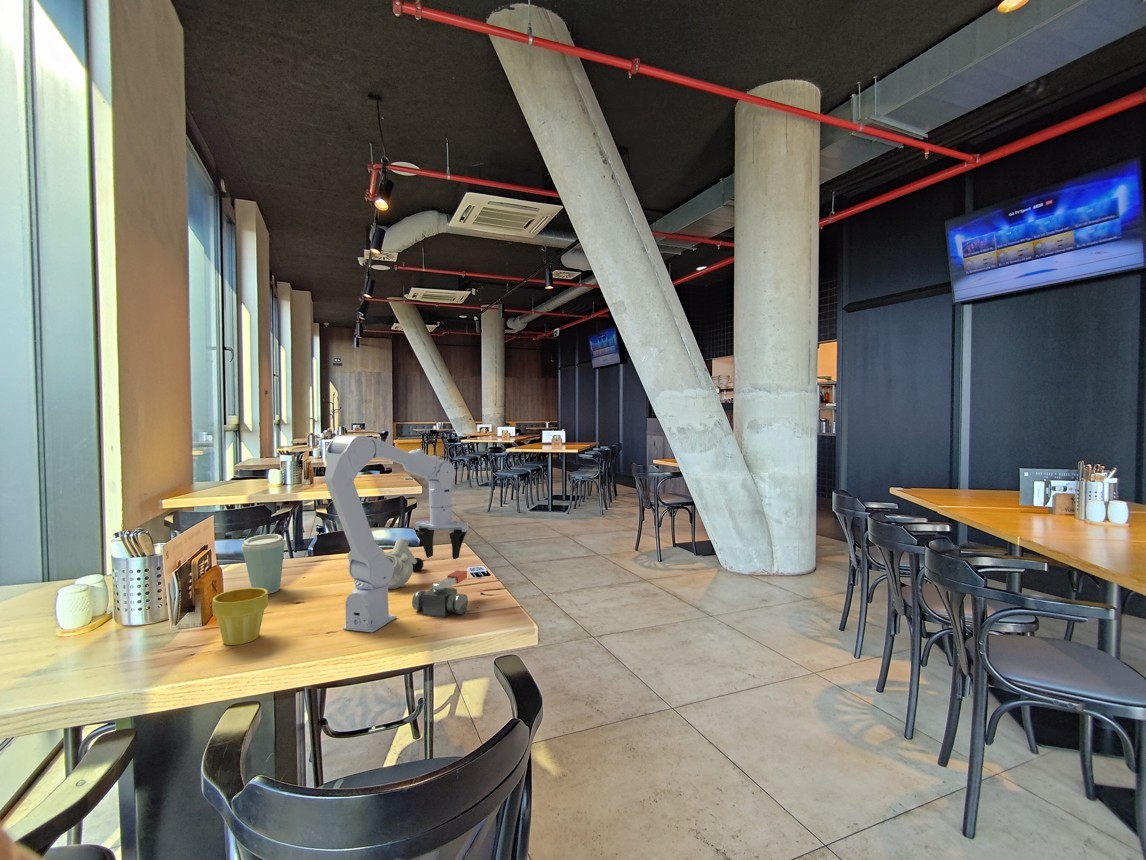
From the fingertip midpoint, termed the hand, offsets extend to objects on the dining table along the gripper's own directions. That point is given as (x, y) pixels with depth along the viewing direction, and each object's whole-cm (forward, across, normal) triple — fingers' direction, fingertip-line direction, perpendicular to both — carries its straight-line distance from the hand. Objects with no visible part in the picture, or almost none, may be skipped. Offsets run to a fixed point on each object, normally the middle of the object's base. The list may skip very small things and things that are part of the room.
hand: (442, 557), depth 142 cm
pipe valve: (+11, -4, +9) cm, 15 cm away
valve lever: (+6, -4, +4) cm, 8 cm away
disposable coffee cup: (+10, +51, +7) cm, 53 cm away
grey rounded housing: (+11, +20, -12) cm, 26 cm away
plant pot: (+10, +30, +34) cm, 47 cm away
